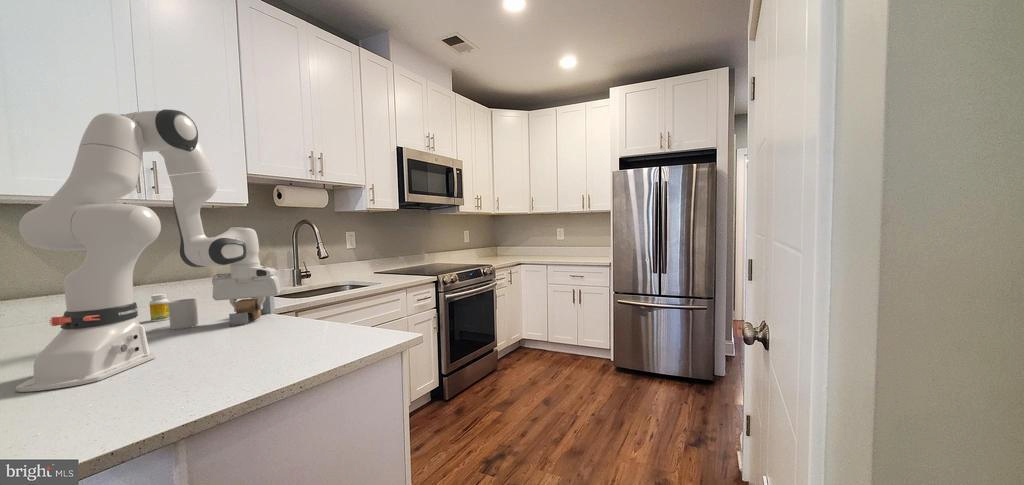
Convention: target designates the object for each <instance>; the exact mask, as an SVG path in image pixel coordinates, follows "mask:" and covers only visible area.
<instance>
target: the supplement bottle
mask: <svg viewBox="0 0 1024 485" xmlns="http://www.w3.org/2000/svg"><path fill="white" fill-rule="evenodd" d="M150 296H151V298H150V299H151V301H149V312H150V314H149V315H150V321H151V322H155V323H157V322H163V321H167V320H170V318H169V307H168V302H170V300H169V299H168V298H167V293H156V294H152V295H150Z"/></svg>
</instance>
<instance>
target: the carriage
mask: <svg viewBox="0 0 1024 485" xmlns="http://www.w3.org/2000/svg"><path fill="white" fill-rule="evenodd" d="M235 303H236V312H235V313H244V312H247V313H252V320H251V321H253V320H257V319H258V318H260V317H262V314H261V310H256V308H257V307H256V305H257V304H259V303H260V300H259V298H242V299H239V300H237V301H236V302H235Z"/></svg>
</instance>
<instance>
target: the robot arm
mask: <svg viewBox="0 0 1024 485" xmlns="http://www.w3.org/2000/svg"><path fill="white" fill-rule="evenodd" d="M198 140H199V132H198V126H197V125H196V123H195V121H194V120H193V119H192V118H191V117H190V116H189V115H188V114H186V113H185V112H183V111H181V110H176V109H161V110H139V111H133V112H129V113H125V114H117V113H112V112H111V113H110V112H109V113H107V112H106V113H100V114H98V115H96V116H94V117H93V118H91V121H90V122H89V123H88V125H87V127H86V128H85V131H84V133H83V134H82V137H81V140H80V143H79V146H78V149H77V153H76V157H75V159H74V163H73V166H72V169H71V172H70V174H69V176H68V178H67V179H66V180H65V182H64V184H63V185H62V186H60V188H59V190H57V191H56V192H55V193H54V195H53V196H51V197H50V198H49V199H48V200H47V201H45V202H44V203H43V204H41V205H39V206H38V207H35V208H34V209H32V210H29V211H27V212H26V213H25V214H24V215H23V216H22V217H21V219H20V220H19V225H18V231H19V235H20V236H21V237H22V239H23V241H24V242H26V244H28V245H29V246H31V247H33V248H37V249H43V250H47V251H48V250H49V251H55V252H56V251H58V252H73V251H74V252H77V251H79V252H80V251H86V256H85V258H84V261H83V262H82V264H81V265H80V266H79V267H78V268H76V269H73V270H72V271H71V272H68V274H67V275H66V276H65V278H64V280H63V286H64V287H63V288H64V298H65V299H64V300H65V306H66V310H65V311H64V313H63V316H52V317H50V319H49V325H50V326H51V327H57V326H60V329H61V330H60V331H59V333H57V335H56V336H55V337H54V338H53V339H52V340H51V341H50V342H49V343H48V344H47V345H46V346H45V348H43V349H42V350H41V351H40V352H39V354H37V356H36V357H35V359H34V361H33V377H32V378H30V379H28V380H25V381H24V382H22V383H20V384H17V386H15V392H20V393H23V392H24V393H25V392H40V391H47V390H55V389H56V390H57V389H62V388H69V387H70V388H71V387H75V386H79V385H86V384H90V383H94V382H98V381H102V380H104V379H106V378H109V377H112V376H114V375H117V374H119V373H122V372H123V371H126V370H129V369H131V368H134V367H136V366H139V365H142V364H144V363H146V362H149V361H151V360H153V359H156V354H155V353H153V352H150V348H149V344H148V339H147V334H146V329H145V327H144V326H143V325H142V324H141V323H140V322H139V321H138V319H137V317H138V316H139V311H138V310H139V308H138V305H137V302H135V299H134V297H135V296H134V276H133V275H134V269H135V266H136V263H137V261H138V259H139V258H140V255H141V254H142V252H143V251H144V250H145V249H146V248H147V247H149V245H151V244H153V243H154V242H155V241H156V240H157V239H158V237H159V236H160V233H161V230H162V224H161V219H160V218H159V216H158V215H157V214H156V212H155V211H154V210H152V209H151V208H149V207H148V206H143V205H137V204H130V203H124V202H123V203H120V202H119V203H118V202H117V201H118V200H119V199H121V198H124V197H125V196H127V195H128V194H129V195H130V194H131V193H133V191H134V190H135V189H136V187H137V184H138V179H139V175H140V169H141V166H142V162H143V156H144V155H143V154H144V152H148V153H150V152H152V153H153V152H158V153H159V154H160V155H161V157H163V161H164V164H165V169H166V172H167V175H168V177H169V181H170V185H171V190H172V195H173V196H172V206H173V211H174V215H175V220H176V224H177V228H178V232H179V237H180V239H179V240H180V243H179V244H180V246H179V255H180V258H181V260H182V261H183V263H184V264H186V265H187V266H189V267H192V268H205V267H219V266H220V267H221V266H227V265H229V270H230V272H227V273H217V274H216V275H213V277H212V278H211V284H212V299H213V300H214V301H225V300H226V301H229V304H230V305H231V306H232V307H233V311H234V312H235V313H236V303H235V302H237V301H238V299H239V300H242V299H250V298H255V297H259V300H261V301H260V303H259V304H257V305H256V307H257V308H256V310H261V309H263V303H264V301H265V299H266V297H267V296H274V297H275V296H278V295H280V293H281V285H280V280H279V277H278V276H277V275H276V273H277V269H276V268H273V267H268V266H264V265H261V261H260V257H259V253H260V244H259V238H258V235H257V231H256V230H255V229H253V228H252V227H249V226H231V227H229V229H228V230H227V231H225V232H223V233H221V234H218V235H216V236H212V237H208V236H206V234H205V232H204V226H203V223H202V222H203V221H202V218H201V208H202V206H203V205H204V204H205V203H206V202H207V201H208V200H210V199H211V198H212V197H213V196H214V195H215V193H216V192H217V179H216V178H217V177H216V176H215V173H214V171H213V170H214V169H213V166H212V164H211V161H210V159H209V156H208V155H207V153H206V151H205V149H204V148H203V146H202V144H201V143H200V142H199V141H198ZM116 202H117V203H116Z"/></svg>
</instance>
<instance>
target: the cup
mask: <svg viewBox="0 0 1024 485" xmlns="http://www.w3.org/2000/svg"><path fill="white" fill-rule="evenodd" d="M168 307H169V318H170V319H169V326H170V329H171V330H174V329H176V330H183V329H182V328H185V329H189V328H188V327H190V328H193V327H192V326H194V327H196V326H195V325H197V326H198V325H199V315H198V314H199V313H198V302H197V298H184V299H177V300H172V301H169V302H168Z"/></svg>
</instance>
